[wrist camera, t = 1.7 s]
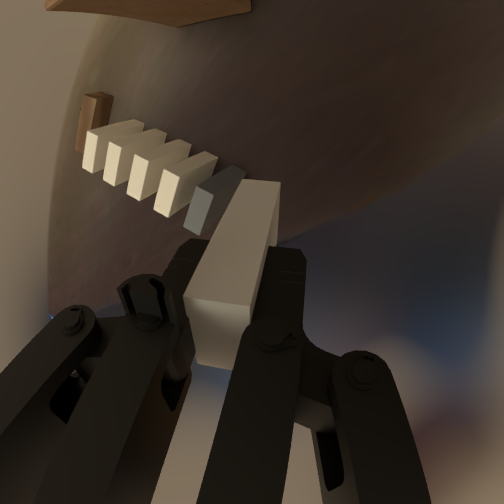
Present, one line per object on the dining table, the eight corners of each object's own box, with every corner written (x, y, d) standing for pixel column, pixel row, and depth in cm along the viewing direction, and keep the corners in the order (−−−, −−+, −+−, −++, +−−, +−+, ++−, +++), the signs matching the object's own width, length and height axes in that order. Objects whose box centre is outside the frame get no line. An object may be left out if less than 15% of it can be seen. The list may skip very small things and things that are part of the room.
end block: (113, 96, 36) (96, 99, 33) (102, 150, 41) (86, 156, 39) (100, 92, 36) (83, 94, 34) (90, 144, 42) (74, 150, 39)
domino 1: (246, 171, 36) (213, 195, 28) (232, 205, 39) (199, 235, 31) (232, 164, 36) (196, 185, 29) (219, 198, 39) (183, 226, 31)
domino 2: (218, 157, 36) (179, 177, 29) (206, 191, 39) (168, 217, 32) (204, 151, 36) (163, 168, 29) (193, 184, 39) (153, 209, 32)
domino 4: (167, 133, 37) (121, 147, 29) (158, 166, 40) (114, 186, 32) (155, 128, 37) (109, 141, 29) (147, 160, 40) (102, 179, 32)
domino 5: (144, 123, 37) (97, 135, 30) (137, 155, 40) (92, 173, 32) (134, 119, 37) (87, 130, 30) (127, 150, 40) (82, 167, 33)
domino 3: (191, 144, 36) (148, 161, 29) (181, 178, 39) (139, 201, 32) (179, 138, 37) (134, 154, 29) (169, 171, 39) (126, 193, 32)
